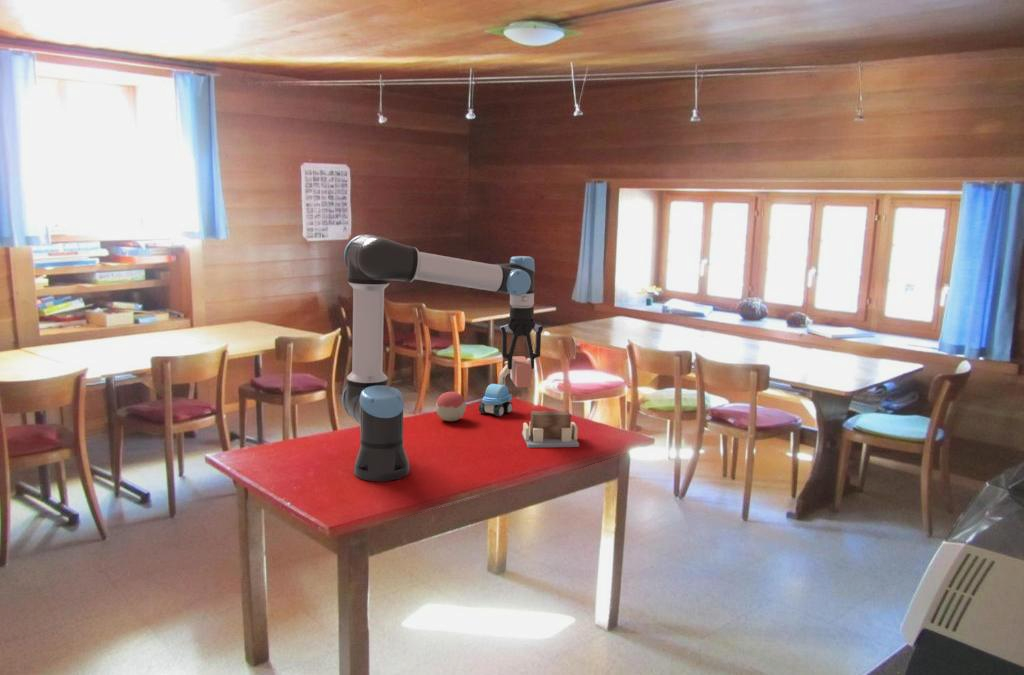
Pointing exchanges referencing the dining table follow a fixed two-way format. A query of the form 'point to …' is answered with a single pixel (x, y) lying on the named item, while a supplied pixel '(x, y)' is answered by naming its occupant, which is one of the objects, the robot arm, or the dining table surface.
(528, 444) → the jig
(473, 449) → the dining table surface
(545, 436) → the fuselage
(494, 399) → the toy excavator
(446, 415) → the toy
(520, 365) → the salmon pink block
